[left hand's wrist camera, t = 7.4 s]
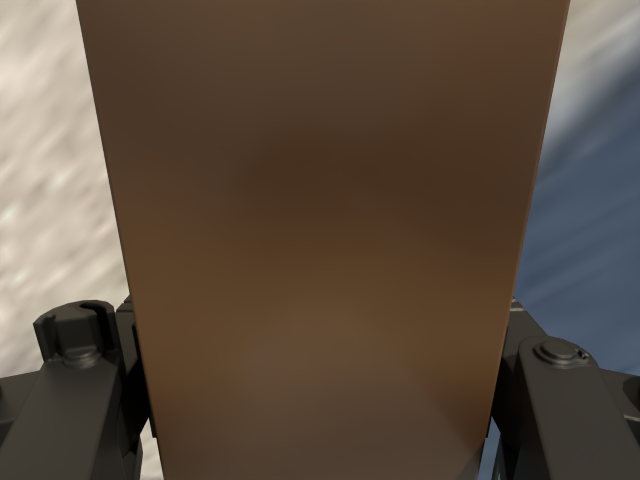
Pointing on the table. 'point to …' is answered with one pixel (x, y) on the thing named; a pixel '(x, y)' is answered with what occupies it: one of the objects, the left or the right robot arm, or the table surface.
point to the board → (321, 222)
